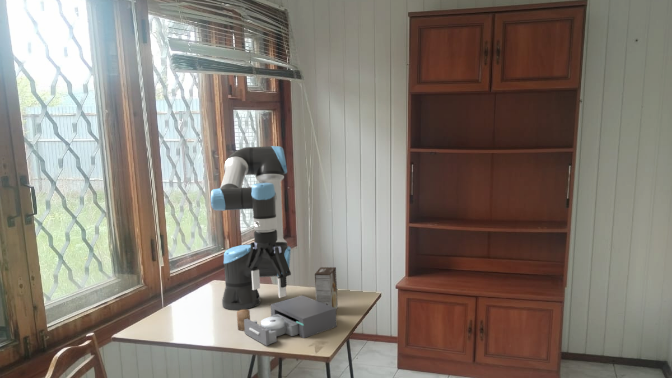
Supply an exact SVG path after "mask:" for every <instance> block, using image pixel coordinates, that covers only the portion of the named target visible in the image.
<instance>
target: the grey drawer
mask: <svg viewBox="0 0 672 378" xmlns="http://www.w3.org/2000/svg"><path fill="white" fill-rule="evenodd" d="M270 317H282V318H284V320H285V326H284V327H282V328H280V329H277V330H268V329H266V328H264V327H262V326H261V324H259V323H258V321H257V320H251V319H250V320H249V319H244V327H245V331H244V334H245V335H247V336H249V337H250V338H252V339H253V340H256V341H257V342H259V343H260V344H263V345H265V346H266V347H267V346H270V345H271V344H274V343H277V342H278V341H277V337H280V336H282V335H285V334H286V335H288V336H290V337H294V336H297V335H299V324H298V323H296V321H294V320H292V319H291V318H286V317H284V316H281V315H279V314H276V315H273V316H271V315H270Z"/></svg>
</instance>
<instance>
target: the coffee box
mask: <svg viewBox="0 0 672 378" xmlns="http://www.w3.org/2000/svg"><path fill="white" fill-rule="evenodd" d="M314 283H315V284H314V285H315V300H316V301H318V302H321V303H324V304H326V305H329V306H331V307H334V308H336V310H337V309H339V307H338V305H339V304H338V287H337V285H338V284H337V267H335V266H334V267H333V266H330V267H328V266H327V267H326V266H325V267H323V266H321V267H319V268H318V270H317V271H316V272H315V273H314Z"/></svg>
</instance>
